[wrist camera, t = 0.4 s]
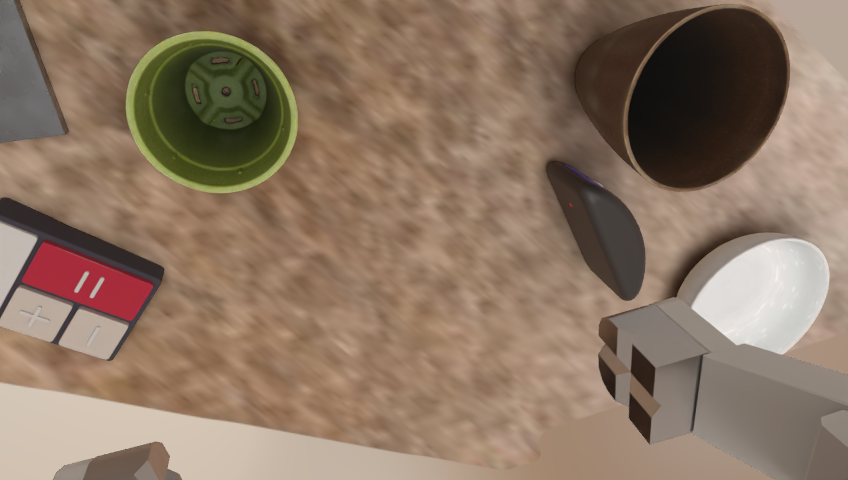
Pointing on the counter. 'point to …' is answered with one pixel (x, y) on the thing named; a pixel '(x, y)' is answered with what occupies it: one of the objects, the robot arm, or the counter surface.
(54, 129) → the mounting plate
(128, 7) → the counter surface
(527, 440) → the counter surface
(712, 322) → the serving bowl
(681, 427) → the robot arm
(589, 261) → the dark grey slab
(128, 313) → the calculator
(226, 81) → the plant pot
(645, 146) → the plant pot
